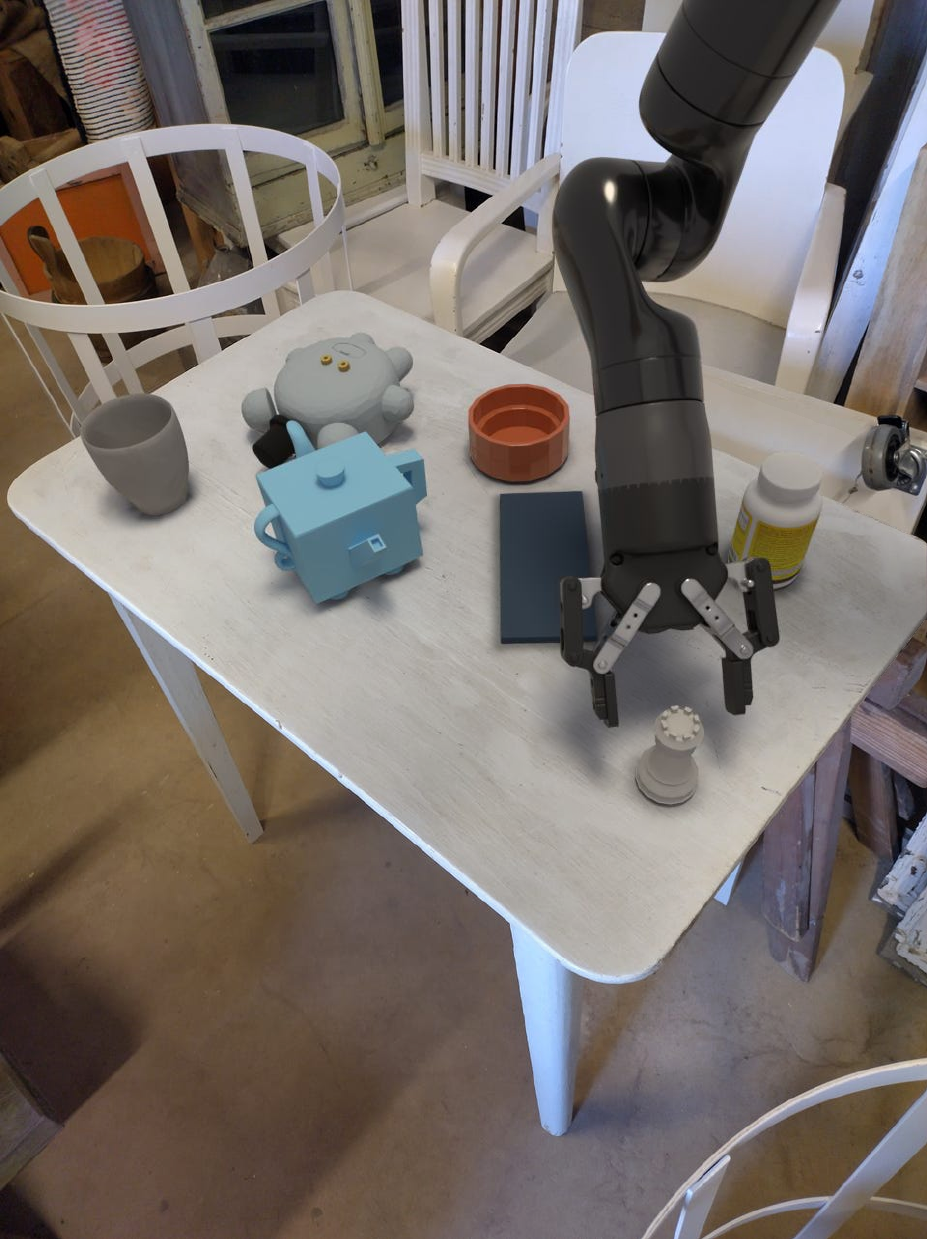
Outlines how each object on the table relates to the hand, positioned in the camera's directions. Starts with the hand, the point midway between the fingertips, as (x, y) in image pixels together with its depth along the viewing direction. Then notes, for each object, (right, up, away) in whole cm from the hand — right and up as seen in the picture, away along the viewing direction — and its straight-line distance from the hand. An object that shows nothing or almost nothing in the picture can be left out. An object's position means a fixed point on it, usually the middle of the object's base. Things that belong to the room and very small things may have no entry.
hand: (673, 719), depth 55 cm
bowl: (-8, +24, +29) cm, 39 cm away
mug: (-46, +20, +29) cm, 59 cm away
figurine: (-28, +27, +34) cm, 52 cm away
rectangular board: (-7, +12, +19) cm, 23 cm away
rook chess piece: (+1, -5, +5) cm, 7 cm away
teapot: (-25, +13, +22) cm, 35 cm away
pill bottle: (+12, +11, +17) cm, 24 cm away
